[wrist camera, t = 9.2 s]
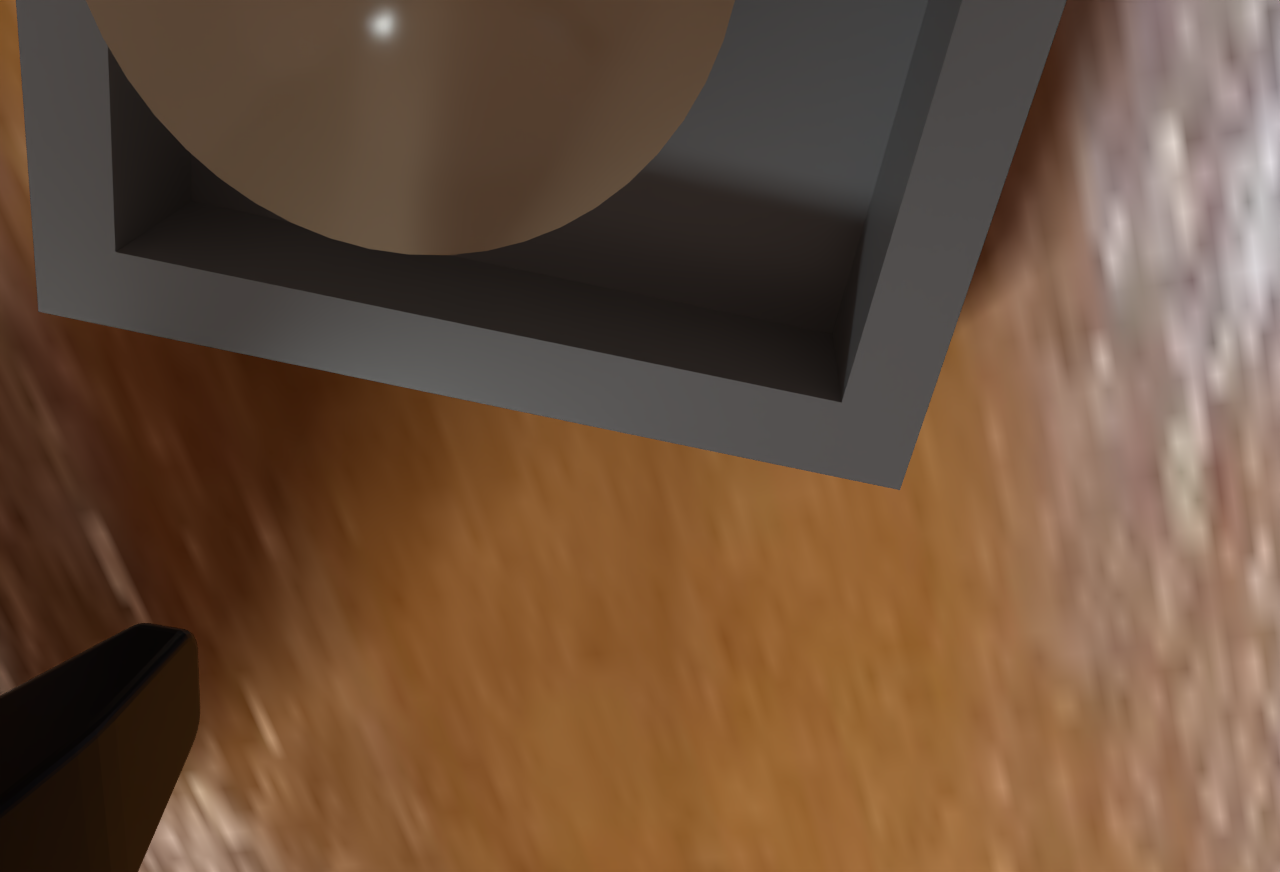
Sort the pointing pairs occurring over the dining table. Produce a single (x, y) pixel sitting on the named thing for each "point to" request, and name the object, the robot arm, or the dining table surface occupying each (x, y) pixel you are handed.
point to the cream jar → (419, 105)
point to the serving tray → (600, 240)
